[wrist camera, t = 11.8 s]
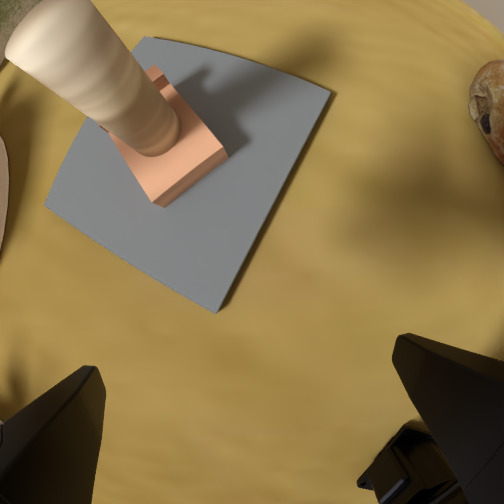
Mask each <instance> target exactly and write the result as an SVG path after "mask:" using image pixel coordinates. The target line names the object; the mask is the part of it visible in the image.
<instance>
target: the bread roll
mask: <svg viewBox="0 0 504 504" xmlns="http://www.w3.org/2000/svg"><path fill="white" fill-rule="evenodd" d="M470 98H471V102H470V103H469V105H468V107H469V111H470V114H471V115H472V117H473V119H474V121H476V123H477V125H478V127H479V128H480V130H481V132H482V134H483V136H484V138H485V139H486V141H487V142H488V144H489V145H490V147H491V148H492V150H493V153H494V155H495V156H496V157H497V158H498V160H499V161H500V162H501V163H502V164H503V165H504V60H495V61H491V62H489V63H487V64H486V65H484V66H483V67H482V68H481V69H480V70H479V71H478V73H477V74H476V77H475V79H474V80H473V83H472V84H471V86H470Z"/></svg>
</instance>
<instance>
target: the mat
mask: <svg viewBox="0 0 504 504" xmlns="http://www.w3.org/2000/svg"><path fill="white" fill-rule="evenodd" d="M131 54H132V55H133V56H134V58H135V59H136V60H137V62H138V63H139V64H140V66H141V67H142V68H143V70H144V71H146V70H148V69H149V68H150V67H152V66H153V65H156V66H157V67H158V68H159V69H160V70H161V71H162V72H163V74H164V75H165V77H166V78H167V80H168V81H169V83H170V84H171V85H172V86H173V88H174V89H175V90H176V91H177V92H178V93H179V94H180V96H181V97H182V98H183V99H184V100H185V101H186V103H187V104H188V105H189V106H190V107H191V108H192V110H193V111H194V112H195V113H196V114H197V116H198V117H199V118H200V119H201V120H202V122H203V123H204V124H205V125H206V126H207V128H208V129H209V130H210V131H211V132H212V134H213V135H214V136H215V137H216V138H217V140H218V141H219V142H220V143H221V145H222V146H223V147H224V149H225V151H226V153H227V155H228V157H229V158H228V159H227V160H226V161H224V162H223V163H222V164H220V165H219V166H218V167H216V168H215V169H214V170H212V171H211V172H210V173H208V174H207V175H206V176H204V177H203V178H202V179H200V180H199V181H198V182H197V183H195V184H194V185H193V186H191V187H190V188H189V189H188V190H186V191H185V192H184V193H183V194H181V195H180V196H179V197H178V198H176V199H175V200H174V201H173V202H171V203H170V204H169V205H168V206H167V207H165V208H163V207H161V206H159V205H156V204H154V203H152V202H151V201H150V199H149V197H148V196H147V194H146V193H145V191H144V190H143V188H142V187H141V185H140V183H139V182H138V180H137V179H136V177H135V176H134V174H133V172H132V171H131V169H130V168H129V166H128V164H127V163H126V161H125V160H124V158H123V156H122V155H121V153H120V151H119V150H118V148H117V146H116V145H115V143H114V142H113V140H112V138H111V137H110V135H109V133H108V132H106V131H105V130H103V129H102V128H101V127H99V125H98V124H97V122H95V121H94V120H93V119H91V118H90V117H88V116H87V118H86V120H85V121H84V123H83V125H82V127H81V128H80V130H79V132H78V134H77V136H76V138H75V139H74V141H73V143H72V145H71V147H70V149H69V151H68V153H67V155H66V157H65V159H64V161H63V163H62V165H61V167H60V169H59V171H58V173H57V176H56V178H55V180H54V182H53V185H52V187H51V189H50V192H49V194H48V196H47V199H46V201H45V204H44V206H46V207H47V208H48V209H50V210H51V211H53V212H54V213H55V214H57V215H58V216H60V217H61V218H62V219H64V220H65V221H67V222H68V223H69V224H71V225H72V226H74V227H75V228H77V229H78V230H79V231H81V232H82V233H84V234H85V235H87V236H88V237H90V238H91V239H93V240H94V241H96V242H97V243H99V244H100V245H102V246H103V247H105V248H106V249H108V250H109V251H111V252H112V253H114V254H115V255H117V256H119V257H120V258H122V259H123V260H125V261H126V262H128V263H130V264H131V265H133V266H134V267H136V268H138V269H139V270H141V271H142V272H144V273H146V274H147V275H149V276H151V277H152V278H154V279H155V280H157V281H159V282H160V283H162V284H164V285H165V286H167V287H169V288H171V289H172V290H174V291H176V292H177V293H179V294H181V295H183V296H184V297H186V298H188V299H189V300H191V301H193V302H195V303H196V304H198V305H200V306H202V307H204V308H205V309H207V310H209V311H211V312H213V313H214V314H216V313H218V311H219V310H220V308H221V306H222V304H223V302H224V300H225V298H226V296H227V294H228V292H229V290H230V288H231V286H232V284H233V282H234V280H235V278H236V277H237V275H238V273H239V271H240V269H241V267H242V265H243V263H244V261H245V259H246V257H247V255H248V253H249V251H250V249H251V248H252V246H253V244H254V242H255V240H256V238H257V236H258V234H259V232H260V230H261V228H262V226H263V224H264V222H265V220H266V219H267V217H268V215H269V213H270V211H271V209H272V207H273V205H274V203H275V201H276V199H277V197H278V195H279V193H280V191H281V190H282V188H283V186H284V184H285V182H286V180H287V178H288V176H289V174H290V172H291V170H292V168H293V166H294V165H295V163H296V161H297V159H298V157H299V155H300V153H301V151H302V149H303V147H304V145H305V143H306V141H307V139H308V138H309V136H310V134H311V132H312V130H313V128H314V126H315V124H316V122H317V120H318V118H319V116H320V115H321V113H322V111H323V109H324V107H325V105H326V103H327V101H328V99H329V97H330V94H331V92H330V91H328V90H326V89H324V88H321V87H319V86H317V85H314V84H312V83H310V82H307V81H305V80H302V79H300V78H297V77H295V76H292V75H290V74H287V73H284V72H282V71H279V70H276V69H273V68H271V67H268V66H265V65H262V64H259V63H256V62H253V61H249V60H246V59H243V58H240V57H236V56H233V55H229V54H226V53H222V52H218V51H215V50H211V49H207V48H202V47H198V46H194V45H189V44H184V43H179V42H174V41H169V40H163V39H157V38H151V37H143V38H142V40H141V41H140V42H139V43H138V44H137V46H136V47H135V48H134V49H133V51H132V52H131Z"/></svg>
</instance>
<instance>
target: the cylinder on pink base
mask: <svg viewBox="0 0 504 504" xmlns="http://www.w3.org/2000/svg"><path fill="white" fill-rule="evenodd" d="M5 57H6V58H7V59H8V60H10V61H11V62H12V63H14V64H15V65H17V66H18V67H20V68H21V69H22V70H24V71H25V72H27V73H28V74H29V75H31V76H32V77H34V78H35V79H37V80H38V81H39V82H41V83H42V84H44V85H45V86H46V87H48V88H49V89H51V90H52V91H53V92H55V93H56V94H58V95H59V96H60V97H62V98H63V99H65V100H66V101H67V102H69V103H70V104H72V105H73V106H74V107H76V108H77V109H79V110H80V111H81V112H83V113H84V114H86V115H87V116H88V117H90V118H91V119H93V120H94V121H95V122H97V124H98V125H99V127H101V128H102V129H103V130H105V131H106V132H108V133H109V135H110V137H111V138H112V140H113V142H114V143H115V145H116V146H117V148H118V150H119V151H120V153H121V155H122V156H123V158H124V160H125V161H126V163H127V164H128V166H129V168H130V169H131V171H132V172H133V174H134V176H135V177H136V179H137V180H138V182H139V183H140V185H141V187H142V188H143V190H144V191H145V193H146V194H147V196H148V197H149V199H150V201H151V202H152V203H154V204H156V205H159V206H161V207H163V208H165V207H167V206H168V205H169V204H170V203H171V202H173V201H174V200H175V199H176V198H178V197H179V196H180V195H181V194H183V193H184V192H185V191H186V190H188V189H189V188H190V187H191V186H193V185H194V184H195V183H197V182H198V181H199V180H200V179H202V178H203V177H204V176H206V175H207V174H208V173H210V172H211V171H212V170H214V169H215V168H216V167H218V166H219V165H220V164H222V163H223V162H224V161H226V160H227V159H228V158H229V157H228V155H227V153H226V151H225V149H224V147H223V146H222V145H221V143H220V142H219V141H218V140H217V138H216V137H215V136H214V135H213V134H212V132H211V131H210V130H209V129H208V128H207V126H206V125H205V124H204V123H203V122H202V120H201V119H200V118H199V117H198V116H197V114H196V113H195V112H194V111H193V110H192V108H191V107H190V106H189V105H188V104H187V103H186V101H185V100H184V99H183V98H182V97H181V96H180V94H179V93H178V92H177V91H176V90H175V89H174V88H173V86H172V85H171V84H170V83H169V81H168V80H167V78H166V77H165V75H164V74H163V72H162V71H161V70H160V69H159V68H158V67H157V66H156V65H153V66H152V67H150V68H149V69H148V70H146V71H144V70H143V68H142V67H141V66H140V64H139V63H138V62H137V60H136V59H135V58H134V56H133V55H132V54H131V53H130V51H129V50H128V49H127V47H126V46H125V45H124V43H123V42H122V41H121V39H120V38H119V37H118V36H117V34H116V33H115V32H114V30H113V29H112V28H111V26H110V25H109V24H108V23H107V21H106V20H105V19H104V17H103V16H102V15H101V14H100V12H99V11H98V10H97V8H96V7H95V6H94V5H93V3H92V2H91V1H90V0H42V1H41V2H40V3H39V4H37V5H36V6H35V7H34V8H33V9H32V10H31V11H30V12H29V13H28V14H27V15H26V16H25V17H24V18H23V20H22V21H21V22H20V23H19V25H18V26H17V27H16V29H15V30H14V32H13V33H12V35H11V37H10V39H9V41H8V43H7V46H6V49H5Z"/></svg>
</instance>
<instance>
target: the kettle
mask: <svg viewBox="0 0 504 504" xmlns="http://www.w3.org/2000/svg"><path fill="white" fill-rule="evenodd" d="M8 191H9V170H8V157H7V153H6V149H5V145H4V142H3V140H2V138H1V137H0V250H1V245H2V241H3V237H4V232H5V223H6V215H7V209H8Z"/></svg>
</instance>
